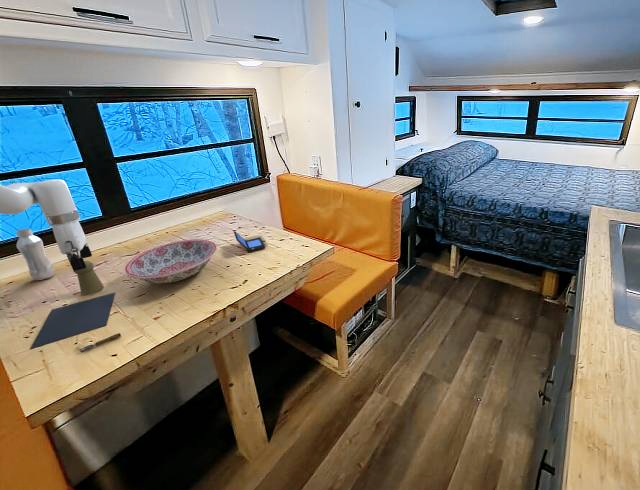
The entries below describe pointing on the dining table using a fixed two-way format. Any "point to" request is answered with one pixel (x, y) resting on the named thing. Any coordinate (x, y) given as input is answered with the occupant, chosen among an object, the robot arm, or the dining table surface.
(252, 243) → the handheld console
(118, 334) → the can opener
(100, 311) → the mat
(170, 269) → the ceramic bowl
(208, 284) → the dining table surface
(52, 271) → the plastic bottle
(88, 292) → the cork
